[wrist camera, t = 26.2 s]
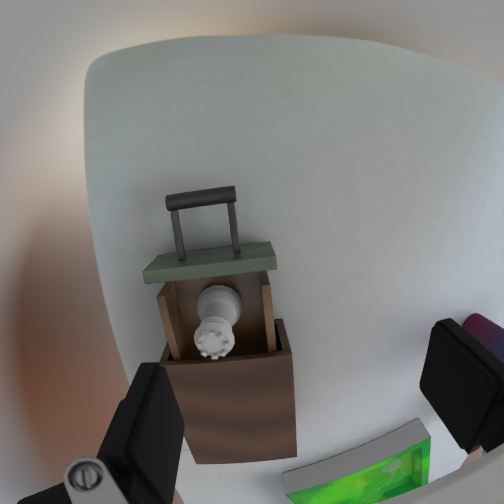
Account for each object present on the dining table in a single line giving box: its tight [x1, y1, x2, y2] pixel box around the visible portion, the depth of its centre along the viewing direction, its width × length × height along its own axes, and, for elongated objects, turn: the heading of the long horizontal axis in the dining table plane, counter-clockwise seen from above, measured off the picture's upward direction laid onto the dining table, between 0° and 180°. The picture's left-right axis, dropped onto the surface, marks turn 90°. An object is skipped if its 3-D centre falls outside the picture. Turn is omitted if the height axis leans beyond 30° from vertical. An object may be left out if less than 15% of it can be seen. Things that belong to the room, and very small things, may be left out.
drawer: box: [142, 186, 277, 361], centre depth 28 cm, size 21×11×5 cm, turn 7°
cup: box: [462, 313, 504, 364], centre depth 28 cm, size 7×7×15 cm
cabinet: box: [159, 319, 297, 464], centre depth 32 cm, size 17×13×7 cm
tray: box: [283, 418, 431, 504], centre depth 41 cm, size 25×25×5 cm
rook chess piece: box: [194, 285, 242, 359], centre depth 26 cm, size 4×4×8 cm
